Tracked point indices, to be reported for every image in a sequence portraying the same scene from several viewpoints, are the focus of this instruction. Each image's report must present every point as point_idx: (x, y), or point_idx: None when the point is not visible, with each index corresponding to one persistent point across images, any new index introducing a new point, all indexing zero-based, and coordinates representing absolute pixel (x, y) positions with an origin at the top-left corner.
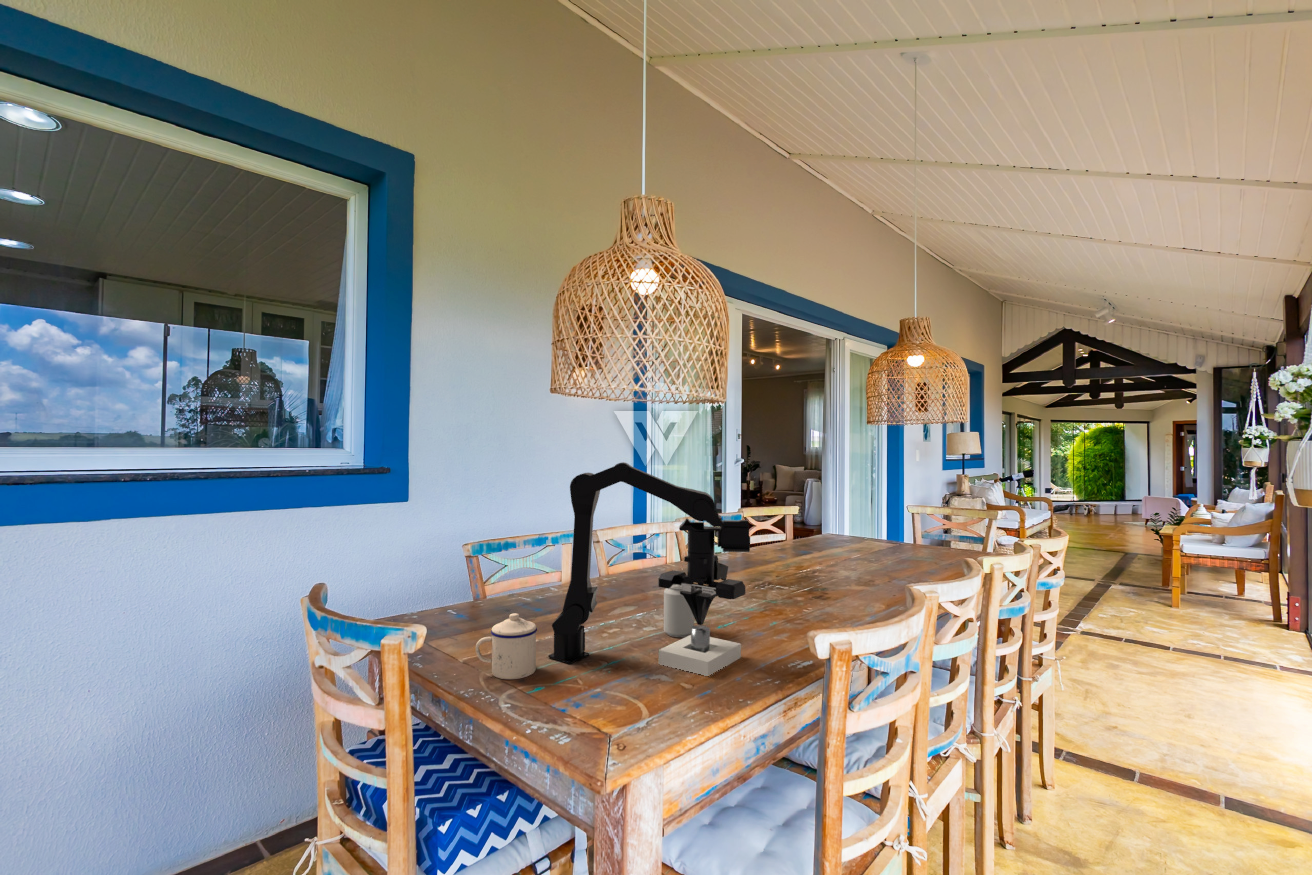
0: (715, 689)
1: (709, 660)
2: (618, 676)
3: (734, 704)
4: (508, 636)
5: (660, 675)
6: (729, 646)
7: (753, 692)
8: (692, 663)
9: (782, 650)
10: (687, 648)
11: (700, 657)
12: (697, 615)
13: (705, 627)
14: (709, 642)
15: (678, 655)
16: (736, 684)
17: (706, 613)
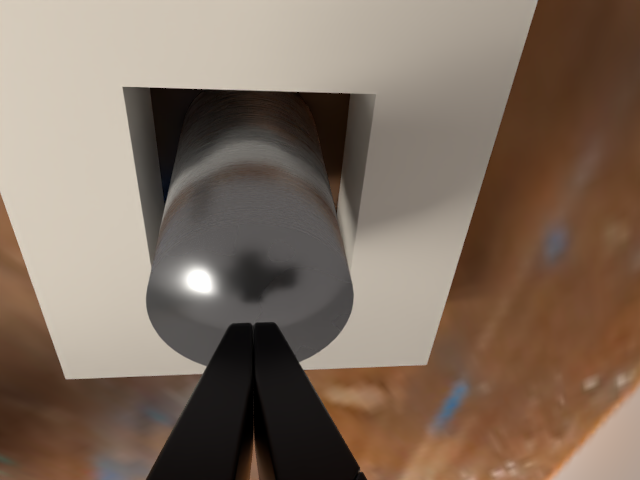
0: (479, 370)
1: (425, 345)
2: (74, 464)
3: (572, 412)
4: None
5: None
6: (475, 53)
7: (637, 320)
8: None
9: None
10: (146, 202)
11: (359, 341)
12: (247, 477)
13: (289, 267)
14: (332, 198)
15: None
16: (555, 297)
17: (330, 427)
